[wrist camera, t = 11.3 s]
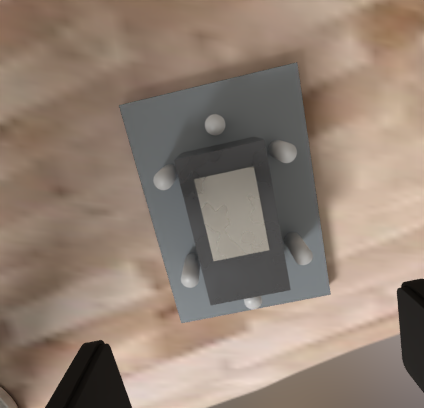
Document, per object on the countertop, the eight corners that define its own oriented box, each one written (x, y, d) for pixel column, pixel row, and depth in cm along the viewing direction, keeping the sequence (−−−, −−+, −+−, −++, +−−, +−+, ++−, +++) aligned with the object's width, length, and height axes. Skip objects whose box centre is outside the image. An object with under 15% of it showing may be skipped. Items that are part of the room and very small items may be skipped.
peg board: (326, 287, 30) (346, 317, 25) (182, 315, 31) (177, 349, 26) (293, 65, 25) (311, 52, 20) (123, 106, 26) (103, 102, 21)
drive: (277, 260, 28) (291, 291, 23) (211, 273, 28) (210, 306, 23) (254, 136, 25) (264, 140, 20) (181, 152, 25) (173, 160, 20)
